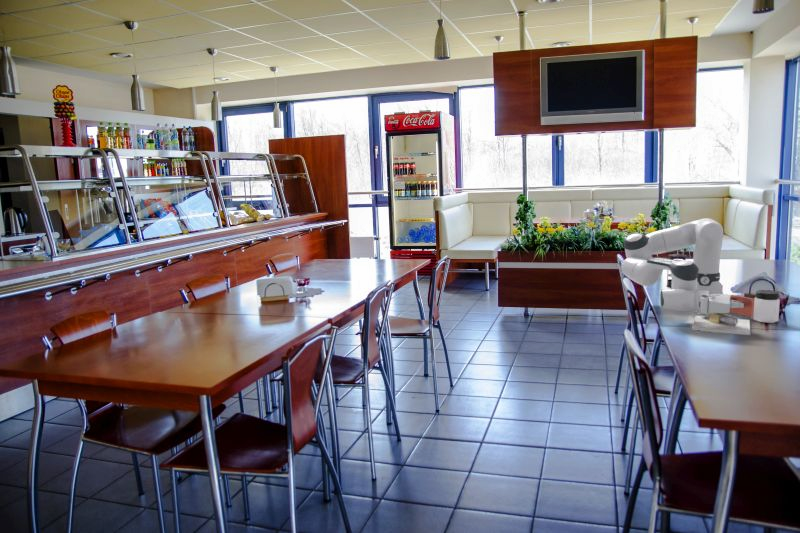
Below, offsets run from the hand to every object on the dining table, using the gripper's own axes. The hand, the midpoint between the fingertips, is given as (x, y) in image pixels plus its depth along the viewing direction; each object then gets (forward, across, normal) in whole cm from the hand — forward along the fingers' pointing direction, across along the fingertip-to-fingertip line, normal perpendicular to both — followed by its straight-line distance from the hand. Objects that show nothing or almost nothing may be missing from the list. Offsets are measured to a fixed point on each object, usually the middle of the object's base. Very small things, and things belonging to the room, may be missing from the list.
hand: (743, 304), depth 241 cm
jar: (+8, -22, -10) cm, 26 cm away
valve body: (-8, -8, -10) cm, 16 cm away
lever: (-3, -5, -6) cm, 8 cm away
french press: (-32, -88, -11) cm, 94 cm away
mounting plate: (-7, -5, -10) cm, 14 cm away
